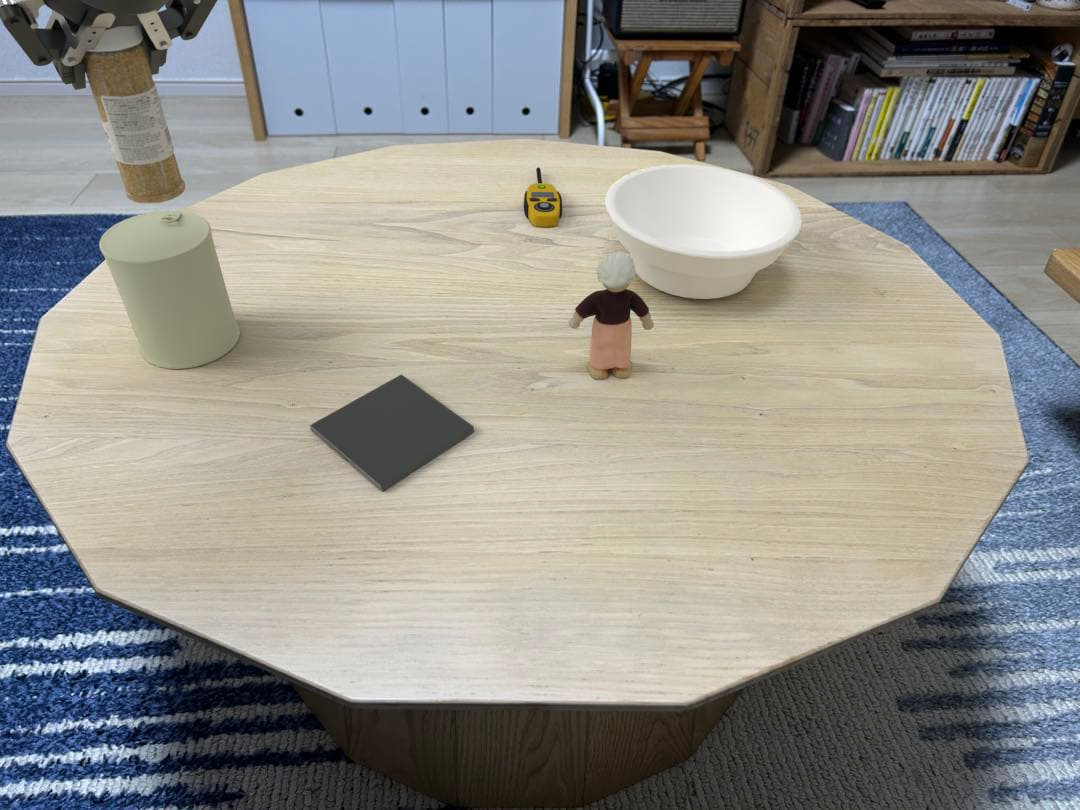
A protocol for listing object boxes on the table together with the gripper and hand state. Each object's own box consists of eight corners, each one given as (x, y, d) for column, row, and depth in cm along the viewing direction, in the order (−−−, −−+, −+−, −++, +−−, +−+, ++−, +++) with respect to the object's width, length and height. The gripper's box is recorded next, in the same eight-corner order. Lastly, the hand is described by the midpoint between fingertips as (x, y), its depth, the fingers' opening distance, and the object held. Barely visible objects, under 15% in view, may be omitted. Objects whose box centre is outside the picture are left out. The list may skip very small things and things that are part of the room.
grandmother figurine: (634, 352, 76) (651, 238, 68) (648, 376, 73) (668, 261, 65) (560, 363, 74) (568, 248, 66) (572, 388, 72) (582, 271, 63)
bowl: (640, 210, 98) (648, 149, 93) (803, 255, 91) (822, 191, 86) (567, 288, 84) (571, 220, 79) (753, 347, 77) (773, 278, 72)
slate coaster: (382, 492, 61) (381, 487, 61) (310, 430, 66) (309, 425, 66) (474, 431, 67) (474, 426, 66) (401, 378, 72) (401, 373, 71)
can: (254, 316, 78) (226, 209, 70) (217, 373, 71) (181, 261, 63) (167, 309, 79) (129, 201, 71) (121, 365, 72) (74, 252, 64)
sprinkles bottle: (133, 182, 63) (73, 3, 54) (191, 179, 64) (141, 3, 55) (120, 208, 60) (53, 22, 51) (181, 205, 61) (126, 21, 52)
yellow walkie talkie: (525, 213, 93) (520, 160, 104) (525, 227, 94) (520, 173, 105) (565, 213, 93) (556, 160, 104) (564, 228, 94) (555, 173, 105)
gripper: (206, -166, 46) (182, 8, 60) (-73, -155, 38) (-23, 40, 53) (265, -47, 46) (227, 97, 61) (1, -15, 39) (30, 140, 54)
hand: (110, 70), depth 57 cm, fingers closed on sprinkles bottle, 4 cm apart
